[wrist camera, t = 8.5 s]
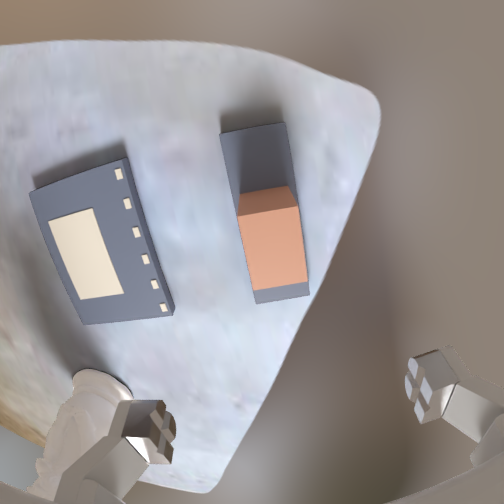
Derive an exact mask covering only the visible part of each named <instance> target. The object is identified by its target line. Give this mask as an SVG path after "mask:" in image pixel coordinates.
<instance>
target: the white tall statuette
mask: <svg viewBox="0 0 504 504" xmlns="http://www.w3.org/2000/svg"><path fill="white" fill-rule="evenodd" d="M73 387H74V390H73V396H72V397H70V398H69V399H68V400H67V401H66V402H65V403H63V404H62V405H61V407H60V409H59V411H58V415H57V419H56V421H55V422H54V423H53V425H52V426H51V428H50V430H49V432H48V434H47V438H46V446H45V450H44V452H43V453H44V455H43V458H44V459H42V458H37V459H36V465H35V467H36V471H37V473H38V475H39V478H38V479H37V480H36V481H35V482H34V484H33V486H29V487H27V488H26V491H27V492H28V493H30V494H33V495H36V496H38V497H41V498H44V499H47V500H50V501H54V498H55V495H56V492H57V489H58V486H59V482H60V479H61V476H62V473H63V472H64V471H65V470H66V469H68V468H69V467H70V466H71V465H72V464H73V463H74V462H76V461H77V460H78V459H79V458H80V457H81V456H82V455H83V454H85V453H86V452H87V451H88V450H89V449H90V448H91V447H92V446H94V445H95V444H96V443H97V442H98V441H99V440H100V439H101V438H102V437H104V436H108V433H109V429H110V426H111V423H112V420H113V417H114V414H115V411H116V408H117V405H118V403H119V402H120V401H121V400H134V398H133V396H132V394H131V392H130V391H129V389H128V388H127V387H126V386H125V385H123V384H122V383H120V382H119V381H117V380H116V379H115V378H114V377H112V376H111V375H109V374H106V373H105V372H103V373H102V372H100V371H98V370H94V369H85V370H84V369H82V370H80V371H79V372H77V373H76V374H75V375H74V377H73Z"/></svg>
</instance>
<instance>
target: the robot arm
mask: <svg viewBox="0 0 504 504" xmlns="http://www.w3.org/2000/svg"><path fill="white" fill-rule="evenodd" d="M408 367H409V369H410V371H409V372H408V373H407V374H406V377H405V388H406V392H407V395H408V397H409V399H410V400H411V401H413V402H415V403H416V405H415V408H414V411H415V413H416V415H417V417H418V419H419V422H420V424H423V423H426V422H429V421H431V420H434V419H437V418H440V417H442V418H443V419H445V420H446V421H448V422H449V423H451V424H452V425H453V426H455V427H456V428H457V429H459V430H460V431H462V432H463V433H465V434H466V435H467V436H469V437H470V438H472V439H473V440H475V441H476V442H477V443H479V444H478V445H477V446H476V448H475V449H474V451H473V452H472V453H471V455H470V459H471V461H472V463H473V466H474V468H472V469H470V470H468V471H466V472H464V473H462V474H460V475H458V476H456V477H454V478H452V479H449V480H447V481H445V482H443V483H440V484H438V485H436V486H433V487H431V488H428V489H426V490H423V491H420V492H418V493H415V494H412V495H410V496H407V497H404V498H401V499H398V500H395V501H392V502H389V503H386V504H504V388H502V387H500V386H498V385H496V384H494V383H492V382H490V381H487V380H485V379H483V378H481V377H479V376H477V375H475V376H472V375H471V373H470V371H469V370H468V368H467V367H466V366H465V364H464V363H463V361H462V360H461V358H460V357H459V355H458V354H457V353H456V351H455V350H454V348H453V347H452V346H451V345H448V346H445V347H442V348H439V349H435V350H432V351H430V352H426V353H423V354H420V355H418V356H415V357H411V359H410V360H409V363H408ZM175 436H176V423H175V420H174V417H173V416H172V414H171V413H169V412H167V411H166V405H165V403H164V402H163V400H121V401H120V402H119V403H118V405H117V408H116V411H115V414H114V417H113V420H112V423H111V426H110V429H109V433H108V436H104V437H102V438H101V439H100V440H99V441H98V442H97V443H96V444H95V445H94V446H92V447H91V448H90V449H89V450H88V451H87V452H86V453H85V454H83V455H82V456H81V457H80V458H79V459H78V460H77V461H76V462H74V463H73V464H72V465H71V466H70V467H69V468H68V469H66V470H65V471H64V472H63V473H62V476H61V479H60V482H59V486H58V489H57V492H56V495H55V498H54V501H50V500H47V499H44V498H41V497H38V496H36V495H33V494H30V493H28V492H25V491H23V490H20V489H18V488H15V487H13V486H10V485H8V484H6V483H4V482H2V481H0V504H126V503H125V502H123V501H122V500H121V499H122V498H123V497H124V496H125V495H126V493H127V492H128V491H129V490H130V489H131V487H132V486H133V485H134V484H135V482H136V481H137V480H138V479H139V477H140V476H141V475H142V474H143V472H144V471H145V470H146V469H147V467H148V466H149V464H171V462H172V456H173V450H174V448H173V447H172V445H171V444H170V443H171V442H172V441H173V440H174V439H175Z"/></svg>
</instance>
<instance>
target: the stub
mask: <svg viewBox="0 0 504 504" xmlns="http://www.w3.org/2000/svg"><path fill="white" fill-rule="evenodd" d="M219 136H220V141H221V146H222V151H223V155H224V160H225V165H226V169H227V174H228V179H229V183H230V188H231V193H232V197H233V202H234V207H235V211H236V216H237V220H238V225H239V230H240V234H241V239H242V243H243V248H244V252H245V257H246V262H247V266H248V271H249V275H250V280H251V284H252V289H253V293H254V298H255V302H256V304H261V303H267V302H273V301H279V300H285V299H291V298H297V297H302V296H308V295H310V291H309V282H308V273H307V265H306V257H305V249H304V241H303V234H302V226H301V219H300V212H299V205H298V198H297V191H296V184H295V178H294V172H293V165H292V159H291V153H290V147H289V141H288V135H287V130H286V124H285V122H281V123H274V124H268V125H262V126H257V127H251V128H246V129H240V130H235V131H230V132H225V133H221V134H219Z"/></svg>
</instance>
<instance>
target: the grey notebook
mask: <svg viewBox="0 0 504 504" xmlns="http://www.w3.org/2000/svg"><path fill="white" fill-rule="evenodd" d="M29 197H30V200H31V203H32V206H33V209H34V212H35V215H36V218H37V220H38V223H39V226H40V229H41V231H42V234H43V237H44V239H45V242H46V244H47V247H48V250H49V252H50V254H51V257H52V259H53V262H54V264H55V266H56V269H57V271H58V273H59V275H60V278H61V280H62V282H63V284H64V286H65V289H66V291H67V293H68V295H69V297H70V299H71V301H72V303H73V305H74V307H75V309H76V311H77V313H78V315H79V317H80V319H81V321H82V323H83V325H91V324H102V323H112V322H121V321H131V320H140V319H149V318H157V317H165V316H173V313H174V310H175V306H174V303H173V301H172V298H171V295H170V292H169V290H168V287H167V284H166V281H165V278H164V276H163V273H162V270H161V267H160V264H159V261H158V258H157V255H156V252H155V249H154V246H153V243H152V240H151V237H150V234H149V231H148V227H147V224H146V221H145V218H144V214H143V211H142V208H141V204H140V201H139V198H138V194H137V191H136V187H135V183H134V180H133V176H132V173H131V169H130V165H129V161H128V157H126V158H123V159H120V160H116V161H113V162H110V163H107V164H104V165H101V166H98V167H95V168H92V169H89V170H86V171H83V172H80V173H78V174H75V175H72V176H69V177H67V178H64V179H61V180H59V181H56V182H53V183H51V184H48V185H46V186H43V187H41V188H38V189H36V190H34V191H32V192H30V193H29Z"/></svg>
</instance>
